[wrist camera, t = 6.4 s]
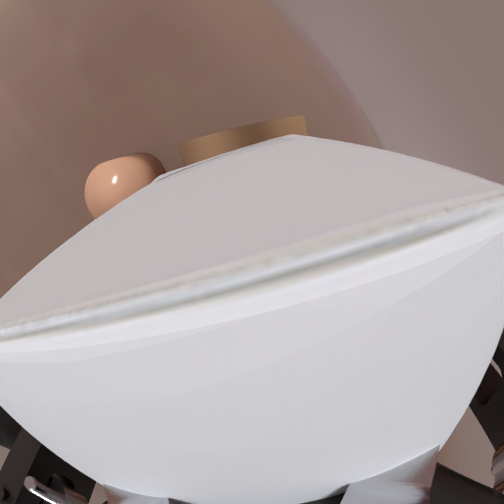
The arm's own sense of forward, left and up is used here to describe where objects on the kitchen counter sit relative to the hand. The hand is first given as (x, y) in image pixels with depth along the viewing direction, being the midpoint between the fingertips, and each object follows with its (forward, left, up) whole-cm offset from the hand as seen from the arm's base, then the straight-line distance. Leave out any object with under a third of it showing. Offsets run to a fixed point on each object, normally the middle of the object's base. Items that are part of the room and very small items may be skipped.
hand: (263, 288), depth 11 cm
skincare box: (0, 0, -3) cm, 3 cm away
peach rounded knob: (-10, +4, -15) cm, 18 cm away
